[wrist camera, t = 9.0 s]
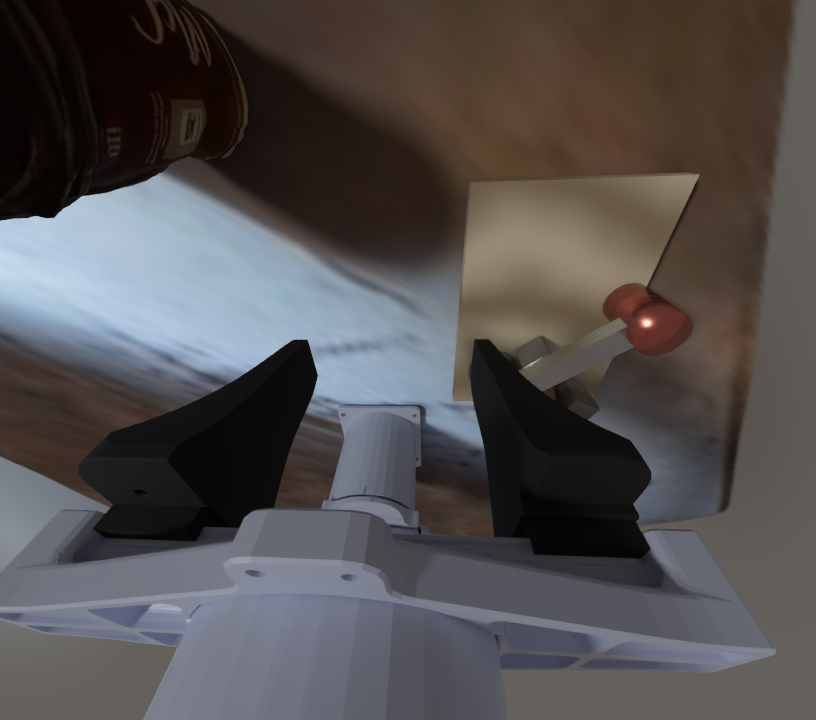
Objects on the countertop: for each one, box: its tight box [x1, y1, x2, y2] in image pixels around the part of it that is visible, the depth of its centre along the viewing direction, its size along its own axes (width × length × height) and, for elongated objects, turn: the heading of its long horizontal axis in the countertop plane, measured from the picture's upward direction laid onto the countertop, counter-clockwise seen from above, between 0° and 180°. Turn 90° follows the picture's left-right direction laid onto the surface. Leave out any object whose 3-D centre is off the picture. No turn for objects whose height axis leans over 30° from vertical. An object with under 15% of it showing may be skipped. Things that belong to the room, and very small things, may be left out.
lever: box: [515, 283, 693, 391], centre depth 21 cm, size 13×3×4 cm, turn 131°
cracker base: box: [453, 173, 699, 420], centre depth 21 cm, size 18×12×4 cm, turn 2°
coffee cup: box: [0, 0, 248, 221], centre depth 10 cm, size 9×8×13 cm
